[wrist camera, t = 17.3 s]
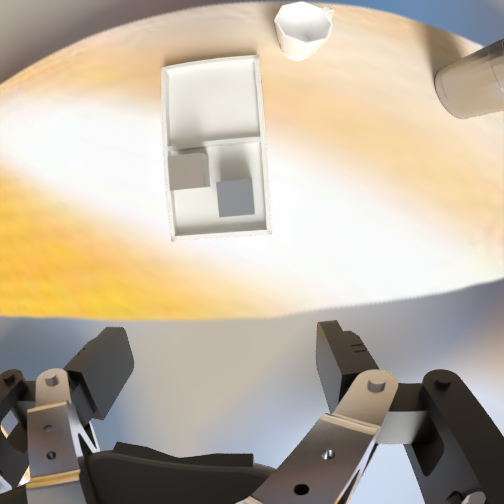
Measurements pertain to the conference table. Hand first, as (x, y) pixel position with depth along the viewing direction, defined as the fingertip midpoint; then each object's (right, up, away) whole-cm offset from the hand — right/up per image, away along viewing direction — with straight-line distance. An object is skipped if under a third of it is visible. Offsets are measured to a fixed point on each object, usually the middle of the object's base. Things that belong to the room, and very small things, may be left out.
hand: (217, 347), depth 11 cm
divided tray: (-3, +18, +25) cm, 30 cm away
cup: (+9, +33, +21) cm, 40 cm away
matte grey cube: (0, +11, +26) cm, 28 cm away
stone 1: (-6, +14, +25) cm, 29 cm away
